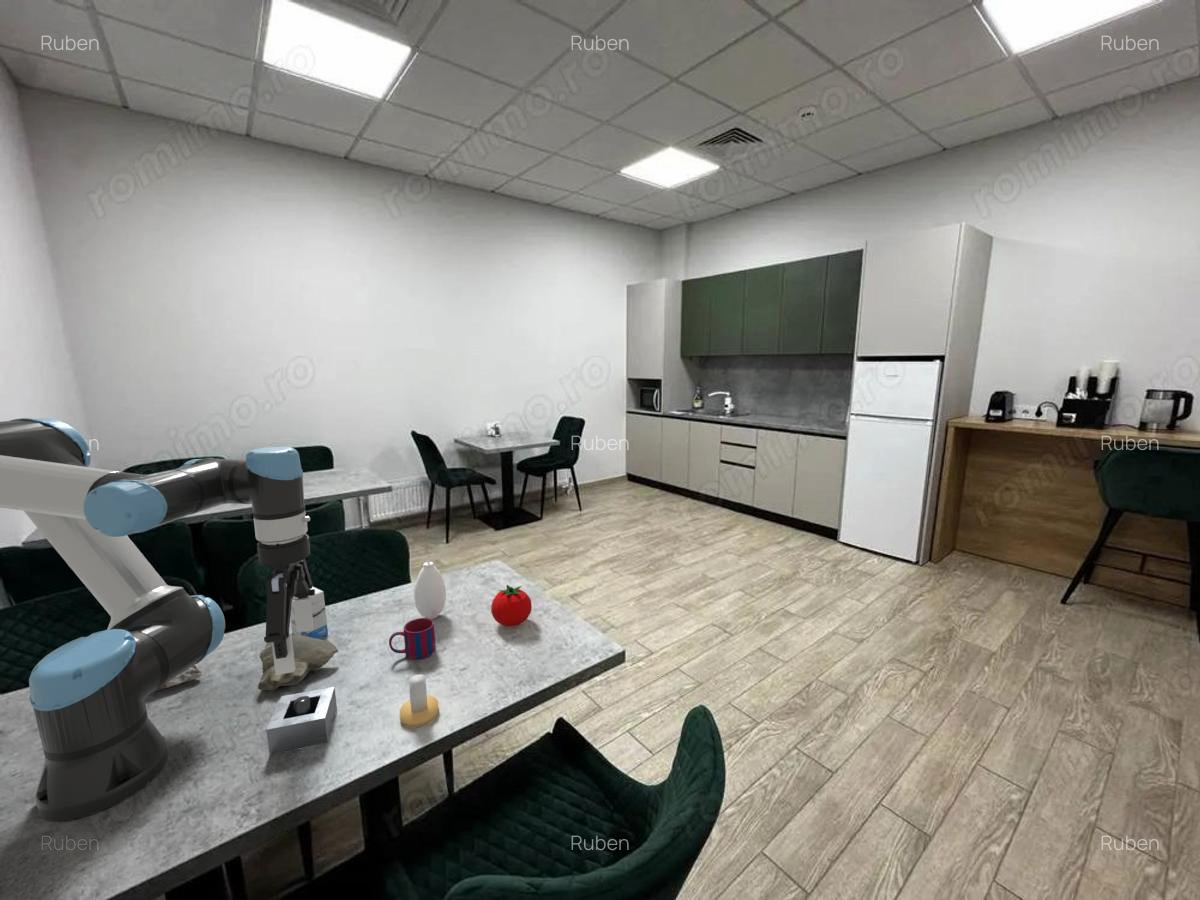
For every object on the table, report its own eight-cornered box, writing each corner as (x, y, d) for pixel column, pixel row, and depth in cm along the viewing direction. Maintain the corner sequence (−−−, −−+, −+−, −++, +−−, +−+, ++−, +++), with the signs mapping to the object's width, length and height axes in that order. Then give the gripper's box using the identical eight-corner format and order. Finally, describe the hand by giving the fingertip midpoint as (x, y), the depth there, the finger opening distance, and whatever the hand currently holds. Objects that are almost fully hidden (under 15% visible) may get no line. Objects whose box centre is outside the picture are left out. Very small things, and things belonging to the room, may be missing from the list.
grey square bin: (269, 755, 85) (266, 729, 84) (284, 719, 93) (281, 696, 92) (327, 742, 88) (324, 718, 87) (336, 709, 96) (334, 686, 95)
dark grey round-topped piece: (289, 741, 88) (286, 710, 87) (295, 725, 92) (292, 695, 91) (315, 736, 89) (311, 705, 88) (319, 721, 93) (316, 691, 92)
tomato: (512, 609, 135) (511, 575, 133) (540, 621, 129) (539, 585, 127) (483, 625, 127) (481, 589, 125) (511, 639, 121) (510, 601, 119)
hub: (399, 730, 90) (396, 694, 89) (401, 706, 97) (398, 672, 96) (438, 722, 93) (436, 686, 91) (438, 698, 99) (436, 665, 98)
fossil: (273, 688, 108) (256, 699, 98) (265, 641, 109) (247, 647, 100) (344, 664, 112) (333, 673, 103) (334, 619, 114) (324, 623, 105)
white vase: (441, 625, 127) (437, 559, 124) (411, 624, 127) (406, 559, 124) (450, 610, 135) (447, 548, 132) (422, 609, 135) (418, 548, 132)
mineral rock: (209, 676, 106) (207, 657, 106) (168, 699, 99) (165, 680, 98) (162, 664, 111) (159, 646, 110) (119, 686, 103) (116, 667, 102)
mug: (437, 655, 114) (435, 628, 113) (390, 666, 110) (388, 638, 108) (433, 641, 120) (432, 615, 119) (389, 650, 116) (387, 624, 114)
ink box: (329, 634, 123) (324, 590, 121) (308, 643, 119) (303, 598, 116) (311, 624, 127) (306, 582, 125) (291, 633, 123) (285, 589, 121)
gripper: (288, 562, 73) (302, 688, 77) (322, 514, 97) (332, 613, 100) (229, 568, 71) (247, 698, 75) (279, 517, 94) (291, 619, 98)
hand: (296, 650), depth 88 cm, fingers open, 13 cm apart
